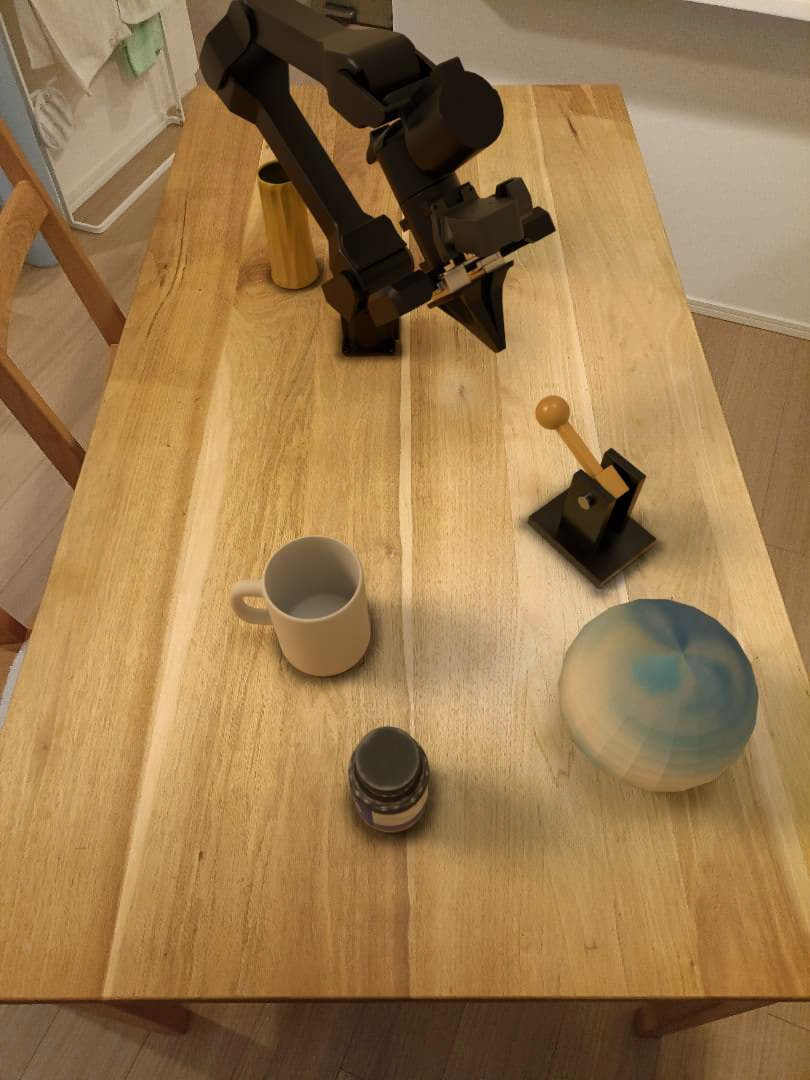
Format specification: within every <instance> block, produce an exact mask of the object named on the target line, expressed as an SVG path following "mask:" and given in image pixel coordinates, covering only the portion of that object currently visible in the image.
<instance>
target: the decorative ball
mask: <svg viewBox="0 0 810 1080" xmlns="http://www.w3.org/2000/svg"><path fill="white" fill-rule="evenodd" d="M563 657H564V658H563V662H562V666H561V670H560V674H559V678H558V683H557V686H558V696H559V706H560V707H559V708H560V713H561V717H562V719H563V722H564V724H565V726H566V729H567V731H568V733H569V736H570V738H571V740H572V742H573V744H575V746H576V747H577V748H578V749H579V750H580V752H581V753H582V754H583V756H585V757H586V759H587V760H588V761H589V762H590V764H591V765H593V766H594V767H595V768H597V769H598V770H600V771H601V772H603V773H604V774H606V775H607V776H609V777H610V778H611V779H613V780H615V782H617V783H620V784H623V785H627V786H630V787H633V788H636V789H638V790H642V791H645V792H674V793H675V792H683V791H686V790H689V789H693V788H695V787H698V786H701V785H704V784H707V783H710V782H712V781H714V780H715V779H717V778H718V777H719V776H720V775H721V774H722V773H724V772H725V771H727V769H728V768H730V767H731V766H732V765H734V764H735V763H736V762H737V761H738V760H739V759H740V757H741V756H742V754H743V752H744V750H745V749H746V746H747V745H748V743H749V741H750V739H751V737H752V735H753V733H754V731H755V728H756V725H757V717H758V716H757V715H758V707H759V706H758V705H759V697H760V696H759V689H758V685H757V681H756V677H755V673H754V669H753V664H752V663H751V661H750V658H749V657H748V656H747V654H746V652H745V651H744V649H743V647H742V646H741V644H740V642H739V640H738V639H737V638H736V636H734V634H732V633H731V632H730V631H729V630H728V629H727V628H726V627H725V626H724V625H723V624H722V623H721V622H720V621H718V619H716V618H714V617H713V616H711V615H709V614H707V613H705V611H702V610H701V609H699V608H697V607H696V606H693V605H689V604H686V603H682V602H680V601H676V600H673V599H667V598H637V599H634V600H631V601H627V602H624V603H620V604H617V605H613V606H609V607H608V608H607V609H605V610H604V611H602V612H601V613H600V614H598V615H596V617H594V618H592V619H591V620H589V621H588V622H586V623H585V624H584V625H583V626H582V627H581V629H580V631H579V632H578V633H577V635H576V636H575V637H574V639H573V641H572V642H571V644H570V645H569V647H567V649H566V651H565V655H564V656H563Z"/></svg>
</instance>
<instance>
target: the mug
mask: <svg viewBox="0 0 810 1080" xmlns="http://www.w3.org/2000/svg"><path fill="white" fill-rule="evenodd" d="M245 597H247V598H249V597H252V598H260V599H263V600H264V604H265V605H266V608H261V607H259V608H258V607H254V606H250V605H249V604H247V603H246V602H245V601H244V600H243V598H245ZM367 599H368V597H367V591H366V581H365V574H364V568H363V564H362V562H361V560H360V558H359V556H358V555H357V553H356V552H355V551H354V550H353V549H352V548H351V546H349V545H348V544H347V543H345V542H344V541H342V540H340V539H338V538H335V537H332V536H329V535H323V534H309V535H303V536H299V537H296V538H293V539H291V540H289V541H287V542H285V543H284V544H282V545H281V546H280V547H278V548H277V549H275V551H274V552H273V553H272V554H271V556H270V557H269V558H268V560H267V562H266V564H265V566H264V568H263V572H262V576H261V578H245V579H239V580H236V581H235V582H233V584H232V585H231V586H230V589H229V593H228V600H229V605H230V608H231V610H232V611H233V613H234V614H235V615H236V616H237V618H239V620H242V622H245V623H247V624H251V625H257V626H271V627H272V626H273V629H274V631H275V635H276V636H277V640H278V643H279V646H280V648H281V651H282V653H283V655H284V657H285V659H286V660H287V661H288V663H290V664H291V665H292V666H293V667H294V668H296V669H297V670H298V671H300V672H302V673H304V674H307V675H309V676H314V677H315V676H316V677H330V676H335V675H336V676H337V675H339V674H342V673H344V672H347V671H349V669H351V668H353V667H354V666H355V665H356V664H357V663H358V662H359V661H360V660H361V659H362V658H363V656H364V655H365V653H366V651H367V650H368V647H369V644H370V641H371V622H370V615H369V608H368V600H367Z"/></svg>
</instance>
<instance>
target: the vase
mask: <svg viewBox="0 0 810 1080" xmlns="http://www.w3.org/2000/svg"><path fill="white" fill-rule="evenodd" d="M255 175H256V181H257V185H258V190H259V197H260V203H261V210H262V215H263V221H264V228H265V235H266V241H267V242H266V243H267V250H268V256H269V257H268V258H269V264H270V269H271V279H272V281H273V283H274V284H275V285H277V286H279V287H280V288H283V289H287V290H299V289H303V288H306V287H309V286H310V285H312V284H313V283H314V282H315V281H316V279H317V278H318V276H319V268H318V264H317V259H316V254H315V247H314V243H313V238H312V234H311V228H310V222H309V215H308V208H307V206H306V204H305V203H304V201H303V200H302V198H301V196H300V195H299V193H298V192H297V190H296V188H295V187H294V185H293V184H292V182H291V180H290V179H289V177H288V176H287V174H286V173H285V171H284V169H283V168H282V166H281V165H280V163H279V161H278V160H277V159H272V160H269V161H266V162H264V163H263V164H261V165H260V166H258V168H257V170H256V174H255Z"/></svg>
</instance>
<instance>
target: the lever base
mask: <svg viewBox="0 0 810 1080" xmlns="http://www.w3.org/2000/svg"><path fill="white" fill-rule="evenodd" d="M599 464H600V465H601V467H602V468H603V470H604V469H606V468H607V467H609V466H610V465H612V466H613V467H614V469H615V470H616V471H617V473H618V474H619V475H620V477H621V478H622V480H623V481H624V482H625V484H626V485H627V487H628V488H629V490H628V491H627V492H625V493H624V494H623V495H621V496H620V497H619V498H617V499H616V498H615V497H614V496H613V495H612V494H611V493H609V492H608V491H607V490H606V489H605V488H603V487H602V486H601V485H600V484H599V483H598V482H596V481H595V480H594V479H593V478H592V477H590V476H589V475H588V474H587V473H586V472H585V470H584V469H583V468H579V469H578V470H577V471H575V472H574V473H573V474H572V478H571V482H570V485H569V486H568V488H566V489H565V490H564V491H562V492H560V493H559V494H558V495H557V496H555V497H554V498H552V499H550V501H548V502H547V503H546V504H544V505H543V506H541V507H540V508H539V509H537V510H536V511H534V512H532V513H531V514H530V515H528V517H527V524H528V525H529V526H530V527H531V528H532V529H533V530H534V531H535V532H536V533H537V534H539V536H541V537H542V538H543V540H545V541H546V542H547V543H548V544H549V545H550V546H551V547H553V548H554V549H555V550H556V551H557V552H558V553H559V554H560V555H561V556H562V557H563V558H564V559H566V561H568V562H569V563H570V564H571V565H572V566H573V567H574V568H575V569H576V570H577V571H579V572H580V573H581V574H582V576H584V577H585V578H586V579H587V580H588V581H589V582H590V583H591V584H592V585H593V586H595V587H596V589H600V588H601V587H603V586H604V585H606V584H607V583H608V582H609V581H611V580H612V579H613V578H614V577H615V576H617V575H618V574H619V573H620V572H622V571H623V570H624V569H625V568H627V567H628V566H630V565H631V564H632V563H633V562H634V561H636V560H637V559H639V558H640V557H641V556H642V555H643V554H645V553H646V552H647V551H648V550H650V549H651V548H652V547H654V545H655V543H656V541H657V538H656V536H654V535H653V534H652V533H651V532H649V531H648V530H647V529H646V528H644V527H643V526H642V525H641V524H640V523H639V522H637V521H636V520H635V519H634V518H633V517H632V516H631V515H632V513H633V511H634V508H635V506H636V503H637V501H638V498H639V497H640V493H641V491H642V488H643V487H644V485H645V481H646V480H647V477H648V476H647V475H646V474H645V473H644V472H642V470H640V469H639V468H637V466H635V465H634V464H633V463H632V462H630V461H629V460H628V459H627V458H625V457H624V456H623V455H621V453H619V452H618V451H617V450H615V449H614V448H613V447H609V448H608V449H607V450H605V451H604V452H603V455H602V458H601V461H600V463H599Z"/></svg>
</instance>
